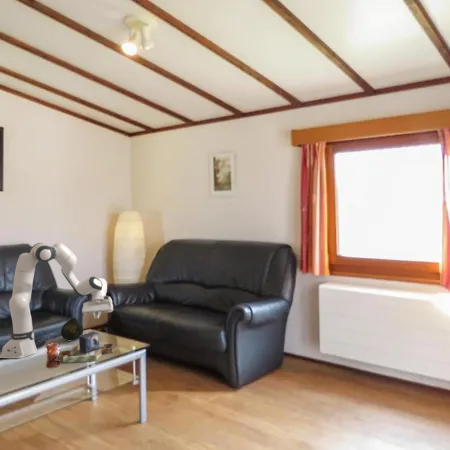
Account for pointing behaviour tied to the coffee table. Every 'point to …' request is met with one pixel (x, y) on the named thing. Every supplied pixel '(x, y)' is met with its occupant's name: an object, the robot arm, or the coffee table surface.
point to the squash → (72, 329)
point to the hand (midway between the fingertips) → (96, 318)
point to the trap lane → (107, 349)
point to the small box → (89, 342)
